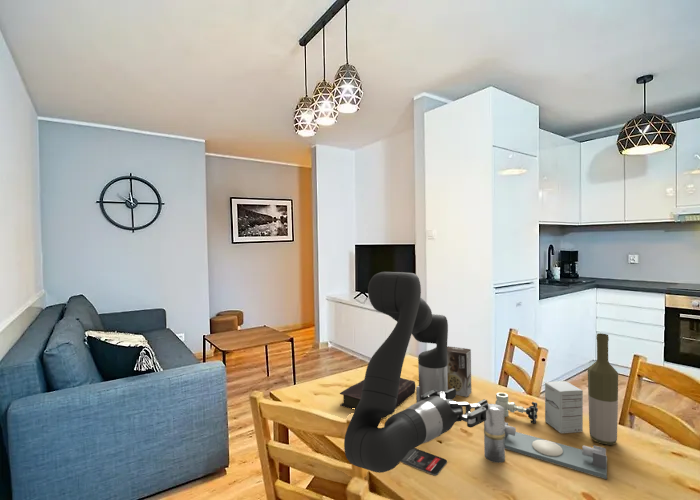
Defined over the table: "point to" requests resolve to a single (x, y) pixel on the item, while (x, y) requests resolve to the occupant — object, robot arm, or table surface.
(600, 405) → the bottle
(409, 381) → the diary
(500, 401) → the valve
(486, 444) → the sleeve
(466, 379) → the coffee box
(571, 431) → the supplement box
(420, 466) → the smartphone
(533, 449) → the shaft bench
